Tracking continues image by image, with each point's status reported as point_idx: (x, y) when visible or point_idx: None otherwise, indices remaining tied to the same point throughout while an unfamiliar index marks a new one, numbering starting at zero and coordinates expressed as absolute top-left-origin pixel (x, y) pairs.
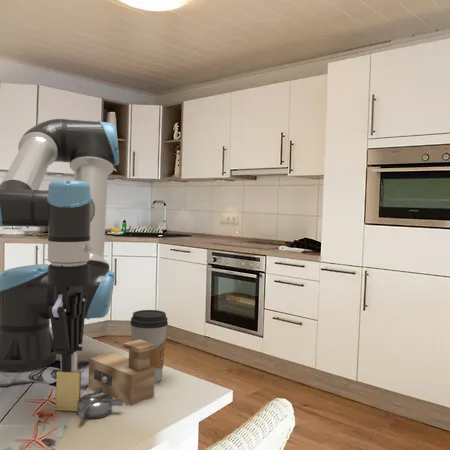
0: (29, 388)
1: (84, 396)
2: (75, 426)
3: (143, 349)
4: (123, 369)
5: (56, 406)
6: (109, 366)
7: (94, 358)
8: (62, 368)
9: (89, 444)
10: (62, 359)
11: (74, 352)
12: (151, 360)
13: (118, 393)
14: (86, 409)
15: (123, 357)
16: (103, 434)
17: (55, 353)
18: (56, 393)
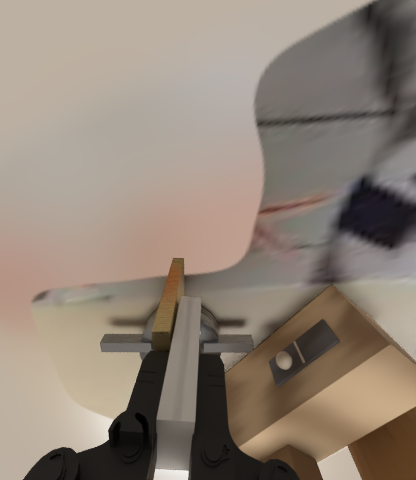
0: (333, 121)
1: None
2: (110, 314)
3: None
4: (267, 438)
5: (172, 263)
6: (295, 408)
7: (385, 358)
8: (142, 365)
9: (51, 352)
10: (129, 408)
11: (180, 463)
12: (355, 462)
13: (248, 368)
14: (120, 351)
15: (379, 422)
16: (92, 362)
17: (46, 455)
18: (166, 281)
